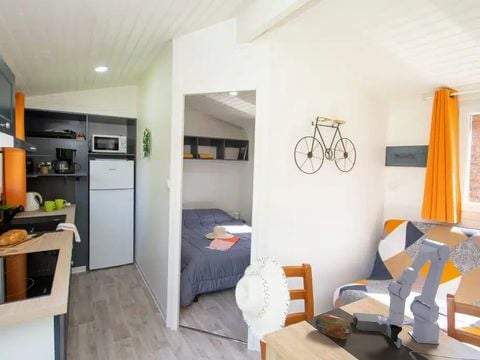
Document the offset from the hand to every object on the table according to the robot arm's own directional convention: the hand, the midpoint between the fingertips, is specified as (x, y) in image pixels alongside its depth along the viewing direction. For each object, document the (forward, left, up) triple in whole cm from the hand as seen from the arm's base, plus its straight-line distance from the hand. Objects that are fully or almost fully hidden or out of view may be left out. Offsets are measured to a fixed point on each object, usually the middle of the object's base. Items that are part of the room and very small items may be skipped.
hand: (393, 340), depth 124 cm
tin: (+25, -4, -2) cm, 25 cm away
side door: (-1, -3, -1) cm, 4 cm away
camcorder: (+5, -13, -2) cm, 13 cm away
